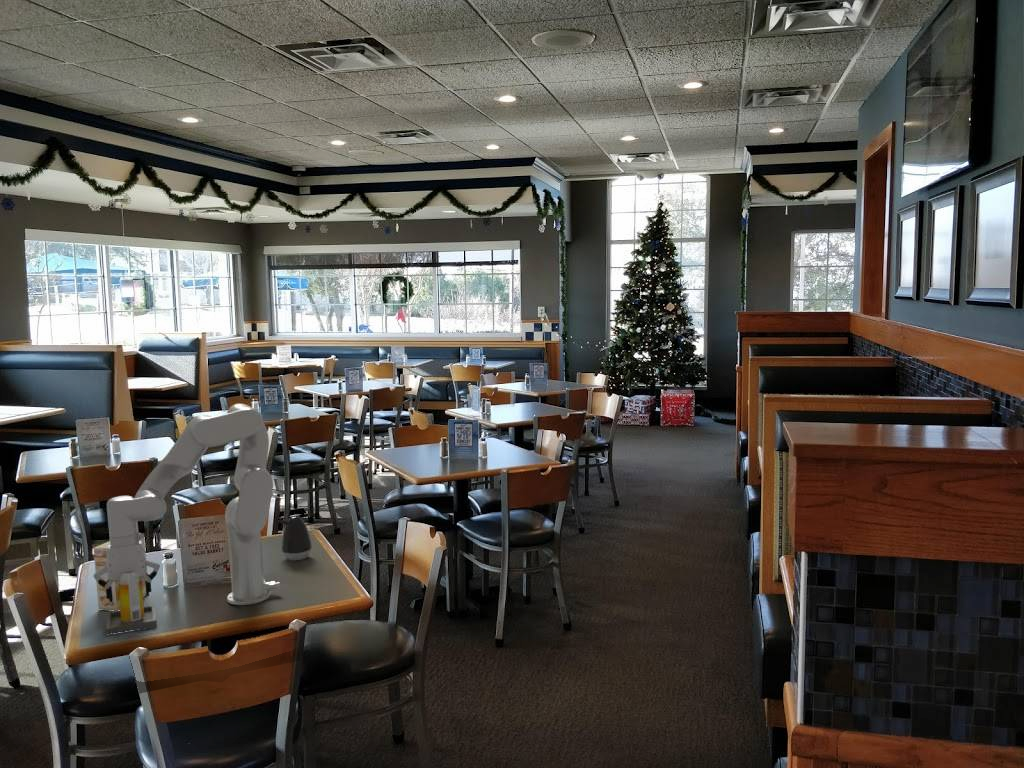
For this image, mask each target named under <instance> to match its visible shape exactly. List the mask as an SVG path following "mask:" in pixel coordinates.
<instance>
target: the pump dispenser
mask: <svg viewBox="0 0 1024 768" xmlns="http://www.w3.org/2000/svg"><path fill="white" fill-rule="evenodd" d="M278 523H281V524H283V525H285V526H284V528H283V533H282V537H281V552H282V554H283V556H284V557H285V558H286V559H287V560H288V561H291V560H292V562H297V561H298V560H299V561H302V560H305V559H306V558H307V557H309V556H310V553H311V549H312V548H313V547H312V539H311V535H310V533H309V532H310V531H309V530H308V527H307V525H306V523H305V521H304V520H303V518H302V517H300V516H297V515H294V516H291V517H289V519H288V520H283V519H279V521H278Z"/></svg>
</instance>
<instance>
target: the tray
mask: <svg viewBox="0 0 1024 768" xmlns="http://www.w3.org/2000/svg"><path fill="white" fill-rule="evenodd" d="M143 607H144V617H143V618H142V620H141V621H139V622H136V623H130V624H126V623H124V622H123V621H122V620H121V612H120V611H114V612H111V611H107V612H106V620H105V635H106V634H111V633H112V634H113V633H118V632H125V631H130V630H137V629H143V630H145V629H144V628H148V629H152V628H151V627H154V628H158V624H157V611H156V604H153V605H152V604H150V605H146V606H144V605H143ZM137 631H138V630H137Z"/></svg>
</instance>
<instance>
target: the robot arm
mask: <svg viewBox="0 0 1024 768" xmlns="http://www.w3.org/2000/svg"><path fill="white" fill-rule="evenodd" d="M269 440H270V437H269V433H268V429H267V427H266V423H265V422H264V420H263V417H262V415H261V413H260V411H258V410H257V409H256V408H254V407H252V406H250V405H248V404H245V403H235V404H233V405H231V406H230V407H229V408H228V410H227V412H226V413H224V414H221V415H217V416H211V415H207V414H198V415H195V416H194V417H193V418H192V419H191V420H190V421H189V422H188V424H187V425H186V427H185V428H184V429H183V431H182V432H181V434H180V435H179V436H178V438H177V439H176V441H175V442H174V444H173V445H172V447H171V448H170V449H169V451H168V453H167V454H166V455H165V457H164V458H162V459H161V460H160V462H159V463H158V464H157V465H156V466H155V467H154V469H152V471H151V472H149V474H148V476H147V477H146V478H145V480H144V482H143V483H142V484H141V485H140V487H139V489H138V490H137V492H136V494H135V495H134V497H133V496H130V495H118V496H114V497H112V498H110V499H108V500H107V502H106V513H107V525H108V533H109V541H110V545H108V548H107V566H106V567H104V568H103V569H101V570H100V571H98V572H94V574H93V578H94V580H95V581H97V582H98V584H100V585H101V586H103V587H104V588H105V589H106V596H107V599H109V600H110V602H112V601H113V597H112V586H111V584H112V583H113V582H114V581H120V577H121V576H122V575H123V573H130V572H134V571H135V572H136V573H137V574H138V576H139V577H142V578H143V579H145V580H146V581H145V585H146V596H145V597H150V593H151V592H152V583H151V582H152V580H154V579H155V577H156V576H157V575H158V572H159V570H160V568H161V565H160V563H157V562H154V561H149V560H147V557H146V558H145V552H146V550H145V551H144V547H143V543H142V541H139V540H140V539H142V538H144V539H145V533H144V532H143V533H141V532H139V524H138V522H152V521H157V520H159V519H161V518H162V517H163V516H165V514H166V512H167V507H168V505H167V502H166V500H165V499H164V498H165V497H166V495H167V494H168V493H169V491H170V490H171V489H172V487H173V486H174V484H175V483H177V482H178V481H179V480H180V479H181V478H183V477H185V476H187V475H189V474H190V473H191V472H192V471H194V469H195V468H196V466H197V465H198V463H199V462H200V461H201V459H202V458H203V456H204V455H205V453H206V451H207V450H208V448H213V447H214V448H215V447H219V446H223V445H227V444H230V443H234V442H237V441H238V442H239V446H238V447H239V448H238V457H237V462H236V467H235V471H234V476H233V483H234V486H235V488H237V490H238V491H239V492H238V493H239V494H238V496H236V497H234V498H232V500H230V501H229V503H228V504H227V506H226V508H225V512H224V519H225V526H226V531H227V539H228V550H229V551H228V552H229V564H230V579H231V580H230V582H231V592H230V593H229V594H228V595H227V598H226V599H227V602H228V603H229V604H231V605H235V606H247V605H249V606H250V605H254V604H259V603H262V602H264V601H266V600H268V599H269V598H270V596H271V590H278V589H281V583H280V581H278V582H275V580H272V581H268V582H267V581H266V580H265V577H264V576H265V575H264V574H265V573H264V562H263V561H264V560H263V549H262V548H263V544H262V534H261V532H262V531H263V530H264V528H265V527H266V524H267V522H268V518H269V514H270V509H271V508H270V507H271V504H272V503H271V502H272V497H273V491H274V482H273V477H272V474H271V473H270V472H269V471H268V470H267V463H268V461H267V460H268V455H269V446H270V445H269V443H270V441H269ZM148 567H149V568H152V569H153V570H152V571H151V573H150V574H149V573H148ZM146 571H147V573H146ZM106 572H107V574H108V580H107V581H105V580H103V579H102V578H101V577H100V576H101V575H103V574H104V573H106Z"/></svg>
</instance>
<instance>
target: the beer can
mask: <svg viewBox="0 0 1024 768" xmlns="http://www.w3.org/2000/svg"><path fill="white" fill-rule="evenodd" d="M118 587H119V600H120V612H121V620H122V621H123V622H124V623H126V624H130V623H136V622H139V621H141V620H142V618H143V617H144V597H143V594H142V580H141V577H139V576H138V574H137V573H136V572H135V571H134V572H130V573H123V575H122V576H121V577H120V581H118Z"/></svg>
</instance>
